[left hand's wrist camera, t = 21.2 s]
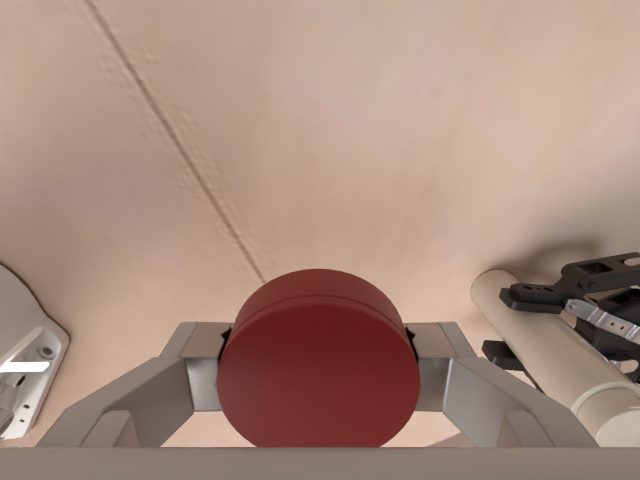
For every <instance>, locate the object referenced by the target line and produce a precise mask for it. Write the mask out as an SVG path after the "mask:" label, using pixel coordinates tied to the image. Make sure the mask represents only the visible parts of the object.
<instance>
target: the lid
mask: <svg viewBox="0 0 640 480" xmlns="http://www.w3.org/2000/svg"><path fill="white" fill-rule="evenodd" d="M216 388H217V395H218V399H219V403H220V406H221V408H222V410H223V413H224V414H225V416H226V418H227V419H228V421H229V422H230V424H231V425H232V426H233V427H234V428H235V430H236V431H237V432H238V433H239V434H241V435H242V436H243V437H244V438H245V439H246V440H248V441H249V442H251V443H252V444H253V445H255V446H257V447H380V446H382V445H383V444H385V443H387V442H388V441H389V440H390V439H392V438H393V437H394V436H395V435H396V434H397V433H398V432H399V431H400V430H401V429H402V428H403V427H404V426H405V425H406V423H407V422H408V421H409V419H410V417H411V416H412V414H413V412H414V410H415V407H416V405H417V402H418V398H419V393H420V372H419V367H418V364H417V361H416V358H415V355H414V352H413V350H412V347H411V344H410V341H409V339H408V336H407V333H406V331H405V328H404V325H403V323H402V320H401V317H400V315H399V313H398V311H397V309H396V308H395V306H394V305H393V303H392V302H391V301H390V299H389V298H388V297H387V296H386V295H385V294H384V293H383V292H382V291H380V290H379V289H378V288H377V287H375V286H374V285H372V284H371V283H369V282H367V281H366V280H364V279H362V278H359V277H357V276H355V275H352V274H349V273H345V272H342V271H336V270H330V269H307V270H300V271H295V272H291V273H288V274H285V275H282V276H280V277H278V278H276V279H273V280H271V281H269V282H268V283H266V284H265V285H263V286H262V287H260V288H259V289H258V290H257V291H256V292H254V293H253V294H252V295H251V296H250V297H249V299H248V300H247V301H246V302H245V303H244V305H243V306H242V308H241V309H240V311H239V313H238V316H237V318H236V320H235V323H234V325H233V328H232V330H231V333H230V336H229V338H228V341H227V343H226V346H225V349H224V352H223V354H222V356H221V359H220V362H219V366H218V369H217V377H216Z"/></svg>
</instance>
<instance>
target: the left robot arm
mask: <svg viewBox="0 0 640 480" xmlns="http://www.w3.org/2000/svg"><path fill="white" fill-rule="evenodd" d="M233 325H234V323H229V322H182V323H180V324H179V326H178V327H177V329H176V330H175V332H174V333H173V335H172V337H171V338H170V340H169V341H168V343H167V345H166V346H165V348H164V349H163V351H162V353H161V354H160V356H159V357H155V358H151V359H150V360H148V361H146V362H145V363H143V364H141V365H140V366H138V367H136V368H134V369H133V370H131V371H129V372H128V373H126V374H124V375H123V376H121V377H119V378H117V379H116V380H114V381H112V382H111V383H109V384H107V385H106V386H104V387H102V388H100V389H99V390H97V391H95V392H94V393H92V394H90V395H89V396H87V397H85V398H83V399H82V400H80V401H78V402H77V403H75V404H73V405H72V406H70V407H68V408H66V409H65V411H64V412H63V413H62V414H61V415H60V417H59V418H58V419H57V420H56V422H55V423H54V424H53V425H52V426H51V428H50V429H49V430H48V431H47V432H46V434H45V435H44V436H43V437H42V439H41V440H40V441H39V442H38V443H37V445H36V446H35V447H0V480H640V447H600V446H599V445H598V443H597V442H596V441H595V440H594V438H593V437H592V436H591V435H590V433H589V432H588V431H587V430H586V428H585V427H584V426H583V425H582V423H581V422H580V421H579V420H578V418H577V417H576V416H575V415H574V413H573V412H572V411H571V410H570V409H569V408H567V407H565V406H564V405H562V404H560V403H559V402H557V401H555V400H554V399H552V398H550V397H549V396H547V395H545V394H544V393H542V392H540V391H539V390H537V389H535V388H534V387H532V386H530V385H529V384H527V383H525V382H523V381H522V380H520V379H518V378H517V377H515V376H513V375H512V374H510V373H508V372H507V371H505V370H503V369H502V368H500V367H498V366H497V365H495V364H493V363H492V362H490V361H488V360H487V359H485V358H482V357H477V355H476V353H475V352H474V350H473V349H472V347H471V345H470V344H469V342H468V341H467V339H466V337H465V336H464V334H463V333H462V331H461V329H460V328H459V326H458V325H457V323H455V322H437V323H403V325H404V328H405V331H406V333H407V336H408V339H409V341H410V344H411V347H412V350H413V352H414V355H415V358H416V361H417V364H418V367H419V372H420V393H419V398H418V402H417V405H416V407H415V410H414V411H430V412H443V414H444V415H445V416H446V417H447V418H448V419H449V420H450V421H451V422H452V423H453V424H454V425H455V426H456V427H457V428H458V429H459V430H460V431H461V432H462V433H463V434H464V435H465V436H466V437H467V438H468V439H469V440H470V441H471V442H472V443H473V444H474V445H475V446H476V447H160V446H161V445H162V444H163V443H164V442H165V441H166V440H167V439H168V438H169V437H170V436H171V435H172V434H173V433H174V432H175V431H176V430H177V429H178V428H179V427H181V426H182V425H183V424H184V423H185V422H186V421H187V420H188V419H189V418H190V417H191V416H192V415H193V414H194V413H193V412H206V411H223V410H222V408H221V406H220V403H219V399H218V395H217V388H216V377H217V369H218V366H219V362H220V359H221V356H222V354H223V352H224V349H225V346H226V343H227V341H228V338H229V336H230V333H231V330H232V328H233ZM68 345H69V337H68V335H67V334H66V332H65V331H64V330H63V329H62V328H61V327H59V326H58V325H57V324H56V323H55V322H54V321H52V320H51V319H50V318H48V317H47V316H46V314H45V313H44V312H43V311H42V309H41V308H40V306H39V304H38V303H37V301H36V299H35V298H34V296H33V295H32V293H31V292H30V291H29V290H28V288H27V287H26V286H25V285H24V284H23V283H22V282H21V281H20V280H19V279H18V278H17V277H16V276H15V275H14V274H13V273H11V272H10V271H9V270H8V269H6V268H5V267H3V266H2V265H0V440H7V439H15V438H21V437H23V436H25V435H26V434H27V433H28V432H29V431H30V430H31V429H32V427H33V425H34V423H35V421H36V419H37V416H38V414H39V412H40V409H41V407H42V405H43V402H44V400H45V398H46V396H47V393H48V391H49V389H50V386H51V384H52V382H53V379H54V377H55V375H56V373H57V370H58V368H59V366H60V363H61V361H62V359H63V356H64V354H65V352H66V350H67V347H68Z"/></svg>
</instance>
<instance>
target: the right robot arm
mask: <svg viewBox="0 0 640 480" xmlns="http://www.w3.org/2000/svg"><path fill="white" fill-rule="evenodd" d="M561 274H562V278H561V279H560V280H559V281H558V282H557V283H556V284H551V285H549V286H547V285H536V284H525V283H515V284H511V286H510V288H501V291H500V294H499V298H500V299H501V300H502V301H503V302H504V304H505V305H506V306H507V307H508V308H510V309H512V310H516V311H526V312H538V313H550V314H560V313H561V310H565V311H566V312H567V313H569V314H571V315H574V316H576V317H577V322H576V327H575V328H574V330H575V331H576V332H577V333H579V334H580V335H581V336H582V337H583V338H584V339H585V340H586V341H588V342H589V343H590V344H591V345H592V346H593V347H594V348H596V349H597V350H598V351H599V352H600V353H601V354H602V355H604V356H605V357H606V358H607V359H608V360H609V361H610V362H611V363H613V364H614V365H615V366H616V367H617V368H618V369H619V370H621V371H622V372H623V373H624V374H625V375H626V376H627V377H628V378H630V379H631V380H632V381H633V382H634V383H638V384H640V253H638V252H634V253H628V254H622V255H616V256H611V257H605V258H599V259H593V260H588V261H582V262H576V263H570V264H567V265H565V266H564V267H563V268H562V270H561ZM624 287H628V288H626V289H624V290H622V291H619V292H617V293H615V294H612V295H610V296H608V297H606V298H603V299H601V300H599V299H596V298H594V297H591V296H589V295H586V293H594V292H600V291H606V290H612V289H618V288H624ZM482 351H483V353H484V354H485V356H486V357H487V358H488V360H489V361H490V362H492V363H493V364H495V365H497V366H498V367H500V368H502V369H503V370H515V371H523V372H524V373H525V375H526V376H527V377H528V378H529V379H530V380H531V381H532V383H533V384H534V385H535V387H536V389H537V390H539V391H540V392H542V393H544V392H543V390H542V389H541V388H540V386H539V385H538V384H537V383H536V381H535V380H534V379H533V378H532V376H531V375H530V374H529V372H528V371H527V370H526V369H525V367H524V366H523V365H522V364H521V362H520V361H519V360H518V358H517V357H516V356H515V355H514V353H513V352H512V351H511V350H510V348H509V347H508V346H507V344H506V343H505V342H504V341H491V340H485V341H484V343H483V346H482ZM544 394H545V393H544ZM545 395H546V394H545Z"/></svg>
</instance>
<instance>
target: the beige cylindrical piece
mask: <svg viewBox="0 0 640 480" xmlns="http://www.w3.org/2000/svg"><path fill="white" fill-rule="evenodd" d="M515 283H521V282H520V281H518V280H517V279H516V278H515V277H514V276H513V275H512V274H510V273H509V272H507V271H504V270H491V271H488V272H485V273H483V274H482V275H480V276H479V277H478V278H477V279H476V280H475V282H474V283H473V285H472V288H471V298H472V301H473V302H474V304H475V305H476V306H477V308H478V309H479V310H480V311H481V313H482V314H483V315H484V316H485V318H486V319H487V320H488V322H489V323H490V324H491V325H492V327H493V328H494V329H495V330H496V332H497V333H498V334H499V336H500V337H501V338H502V339H503V341H504V342H505V343H506V344H507V346H508V347H509V348H510V350H511V351H512V352H513V353H514V355H515V356H516V357H517V358H518V360H519V361H520V362H521V364H522V365H523V366H524V367H525V369H526V370H527V371H528V372H529V374H530V375H531V376H532V378H533V379H534V380H535V381H536V383H537V384H538V385H539V386H540V388H541V389H542V390H543V392H544V393H545V394H546V395H547V396H549V397H550V398H552V399H554V400H555V401H557V402H559V403H560V404H562V405H564V406H565V407H567V408H569V409H570V410H571V411H572V412H573V413H574V415H575V416H576V417H577V418H578V420H579V421H580V422H581V423H582V425H583V426H584V427H585V428H586V430H587V431H588V432H589V433H590V435H591V436H592V437H593V438H594V440H595V441H596V442H597V443H598V445H599V446H600V447H640V387H639V386H638V385H636V384H635V383H634V382H633V381H632V380H631V379H630V378H628V377H627V376H626V375H625V374H624V373H623V372H622V371H621V370H619V369H618V368H617V367H616V366H615V365H614V364H613V363H611V362H610V361H609V360H608V359H607V358H606V357H605V356H604V355H602V354H601V353H600V352H599V351H598V350H597V349H596V348H594V347H593V346H592V345H591V344H590V343H589V342H588V341H586V340H585V339H584V338H583V337H582V336H581V335H580V334H579V333H577V332H576V331H575V330H574V329H573V328H572V327H571V326H569V325H568V324H567V323H566V322H565V321H564V320H563V319H562V318H560V317H559V316H558V315H557V314H550V313H538V312H526V311H516V310H512V309H510V308H508V307H507V306H506V305H505V304H504V302H503V301H502V300H501V299H500V298H499V294H500V291H501V288H510V286H511V284H515Z"/></svg>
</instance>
